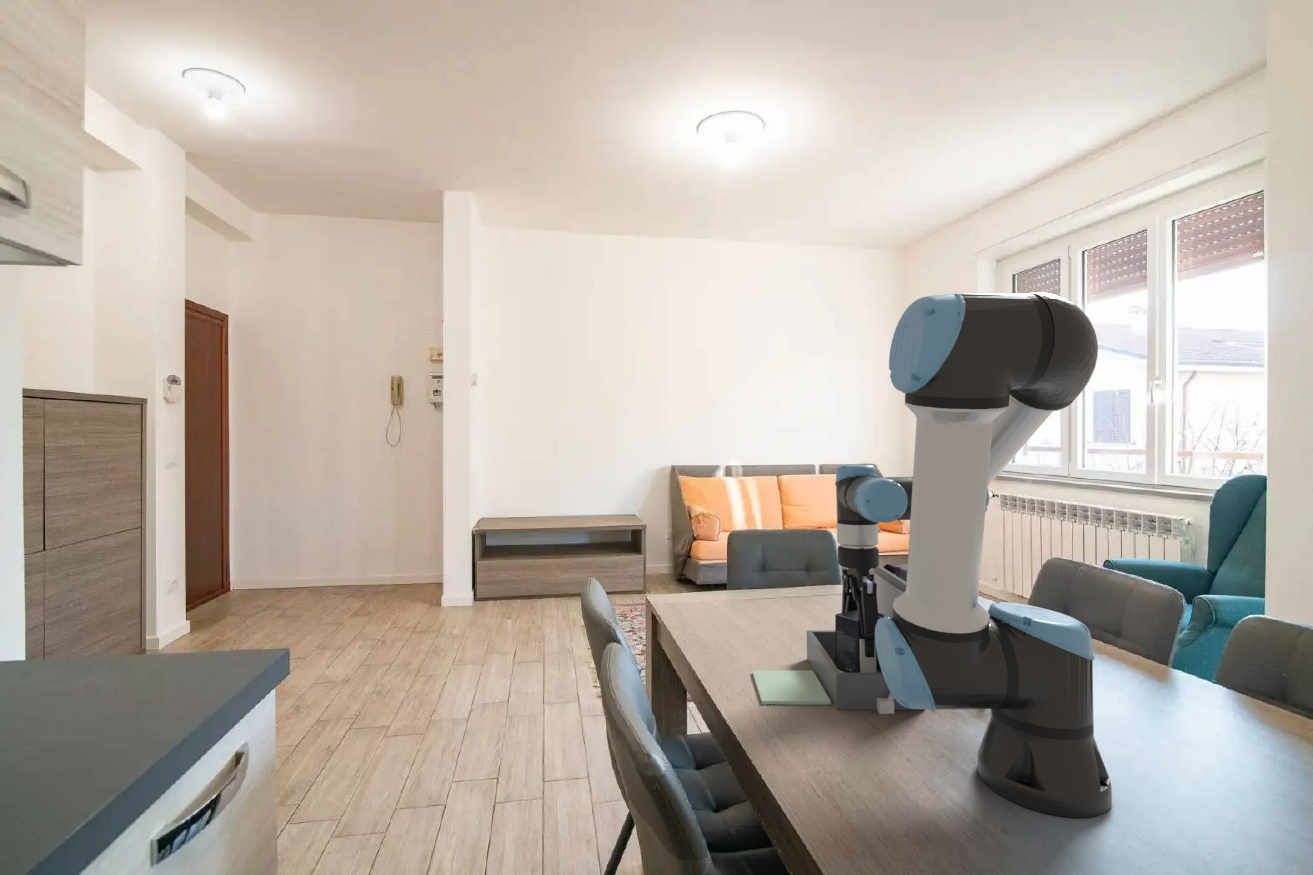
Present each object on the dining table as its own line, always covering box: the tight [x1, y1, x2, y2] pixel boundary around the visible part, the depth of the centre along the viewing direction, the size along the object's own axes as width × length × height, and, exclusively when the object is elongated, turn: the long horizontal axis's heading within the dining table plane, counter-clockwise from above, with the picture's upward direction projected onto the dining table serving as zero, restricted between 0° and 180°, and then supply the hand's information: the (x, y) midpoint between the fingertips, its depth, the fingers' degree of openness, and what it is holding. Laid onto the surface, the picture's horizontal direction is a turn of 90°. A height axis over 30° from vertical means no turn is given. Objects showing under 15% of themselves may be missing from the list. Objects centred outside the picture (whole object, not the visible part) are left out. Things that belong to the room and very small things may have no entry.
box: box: [834, 609, 884, 673], centre depth 115 cm, size 8×6×11 cm
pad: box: [751, 670, 832, 706], centre depth 113 cm, size 14×12×1 cm
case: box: [806, 564, 926, 715], centre depth 115 cm, size 26×16×20 cm, turn 178°
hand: (860, 664), depth 115 cm, fingers closed on box, 9 cm apart
